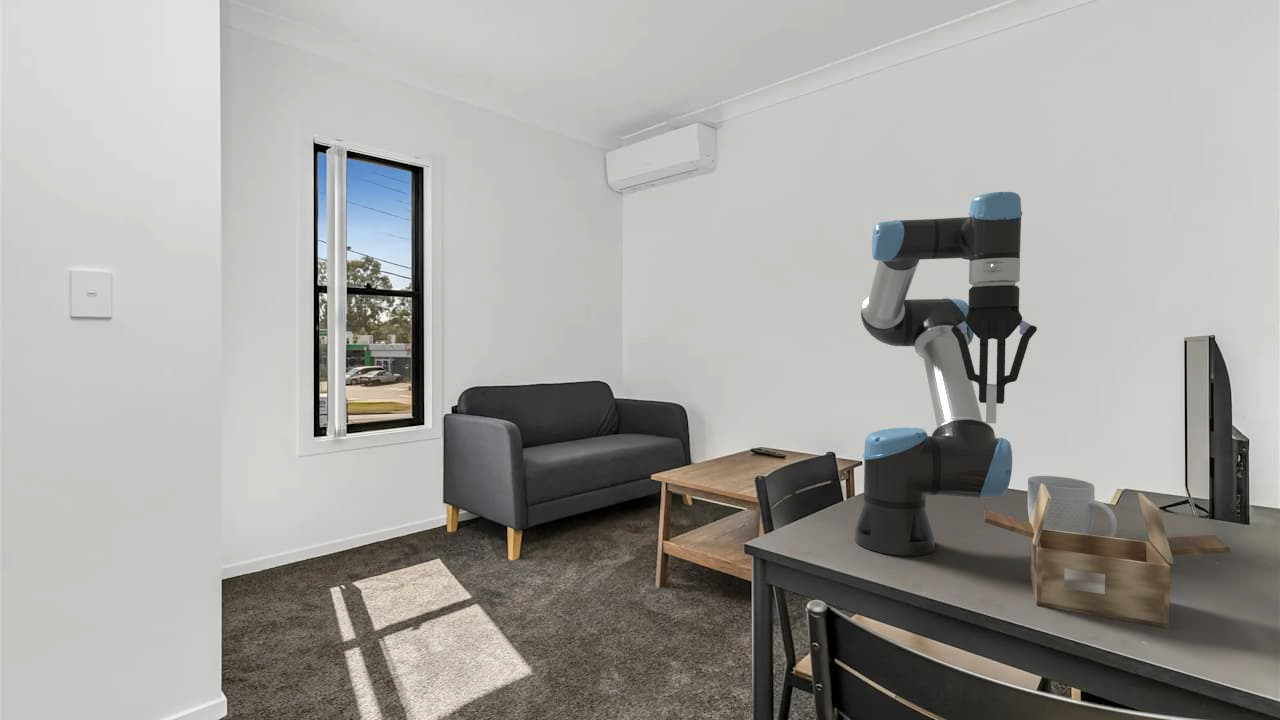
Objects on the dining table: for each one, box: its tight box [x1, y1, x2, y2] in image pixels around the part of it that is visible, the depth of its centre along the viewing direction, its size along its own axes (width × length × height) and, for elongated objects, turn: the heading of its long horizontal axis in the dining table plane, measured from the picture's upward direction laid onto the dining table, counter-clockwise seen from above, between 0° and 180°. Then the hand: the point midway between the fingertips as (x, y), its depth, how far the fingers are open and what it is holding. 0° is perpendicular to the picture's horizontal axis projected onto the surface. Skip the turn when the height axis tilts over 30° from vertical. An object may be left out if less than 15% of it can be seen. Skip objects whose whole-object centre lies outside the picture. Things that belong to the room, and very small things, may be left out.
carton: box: [1029, 529, 1171, 629], centre depth 96 cm, size 16×12×9 cm
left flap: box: [983, 483, 1052, 545], centre depth 101 cm, size 8×11×8 cm
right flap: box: [1137, 492, 1232, 565], centre depth 91 cm, size 8×11×8 cm
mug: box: [1026, 475, 1118, 538], centre depth 120 cm, size 15×11×13 cm
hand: (991, 422), depth 105 cm, fingers closed
